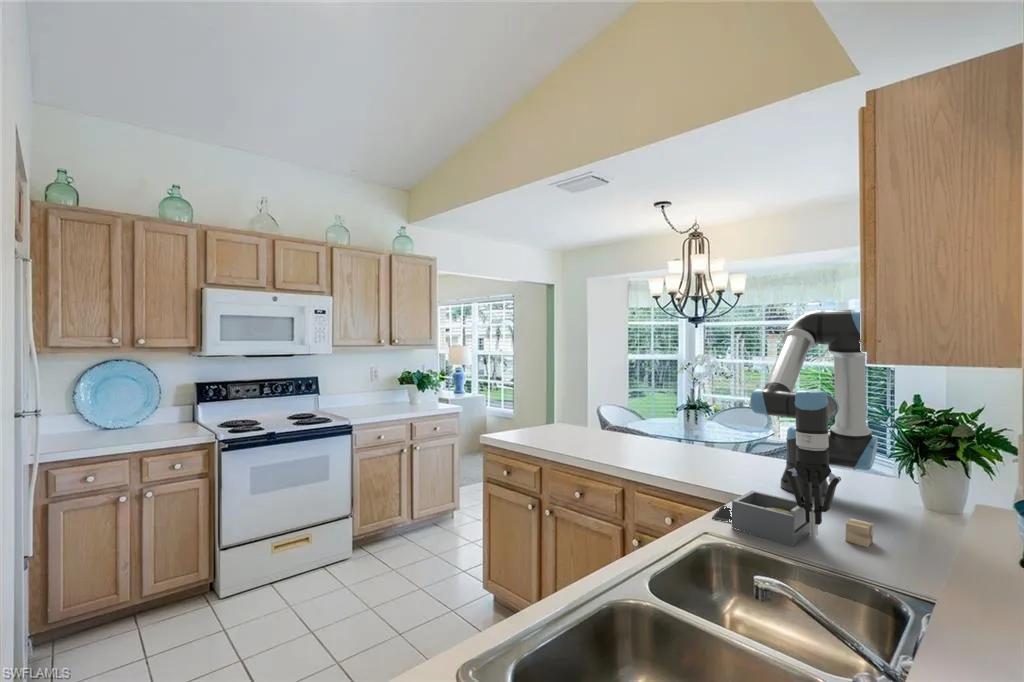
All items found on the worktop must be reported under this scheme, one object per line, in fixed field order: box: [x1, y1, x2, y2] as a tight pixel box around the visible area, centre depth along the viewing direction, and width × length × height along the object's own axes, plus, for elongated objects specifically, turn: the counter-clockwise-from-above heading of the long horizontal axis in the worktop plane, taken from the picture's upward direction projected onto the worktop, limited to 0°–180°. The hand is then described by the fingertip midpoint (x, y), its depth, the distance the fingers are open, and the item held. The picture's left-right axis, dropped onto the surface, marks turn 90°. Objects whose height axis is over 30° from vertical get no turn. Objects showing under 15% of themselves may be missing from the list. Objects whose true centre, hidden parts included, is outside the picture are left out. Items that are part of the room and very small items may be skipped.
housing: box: [731, 490, 810, 547], centre depth 142 cm, size 14×16×8 cm
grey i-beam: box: [791, 506, 806, 531], centre depth 141 cm, size 9×14×5 cm, turn 42°
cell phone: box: [711, 505, 732, 522], centre depth 153 cm, size 7×14×1 cm, turn 144°
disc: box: [767, 508, 791, 514], centre depth 140 cm, size 8×8×2 cm
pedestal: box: [845, 517, 874, 548], centre depth 134 cm, size 5×5×5 cm
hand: (814, 535), depth 134 cm, fingers closed
